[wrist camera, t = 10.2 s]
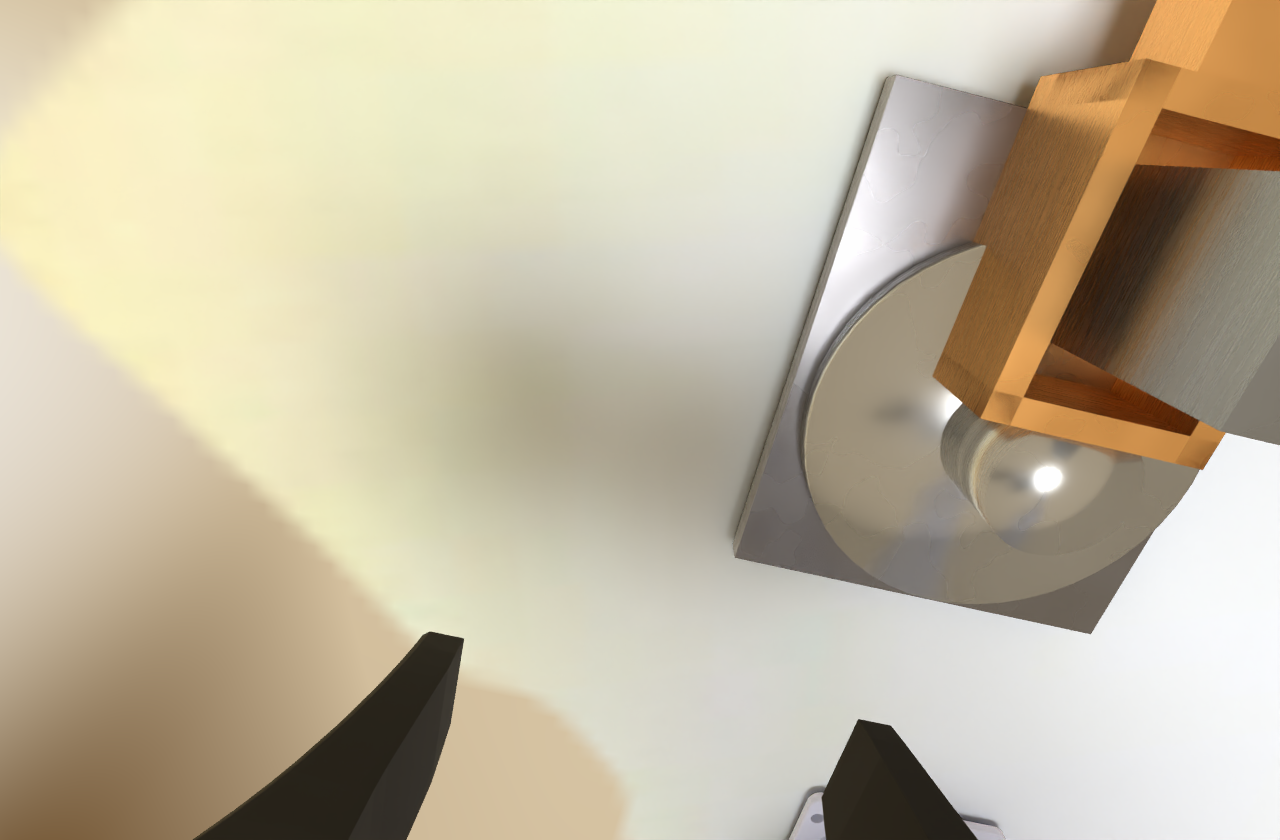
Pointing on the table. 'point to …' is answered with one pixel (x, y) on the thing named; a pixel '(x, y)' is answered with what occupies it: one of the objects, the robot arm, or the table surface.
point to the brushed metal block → (1188, 295)
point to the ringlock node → (1000, 333)
